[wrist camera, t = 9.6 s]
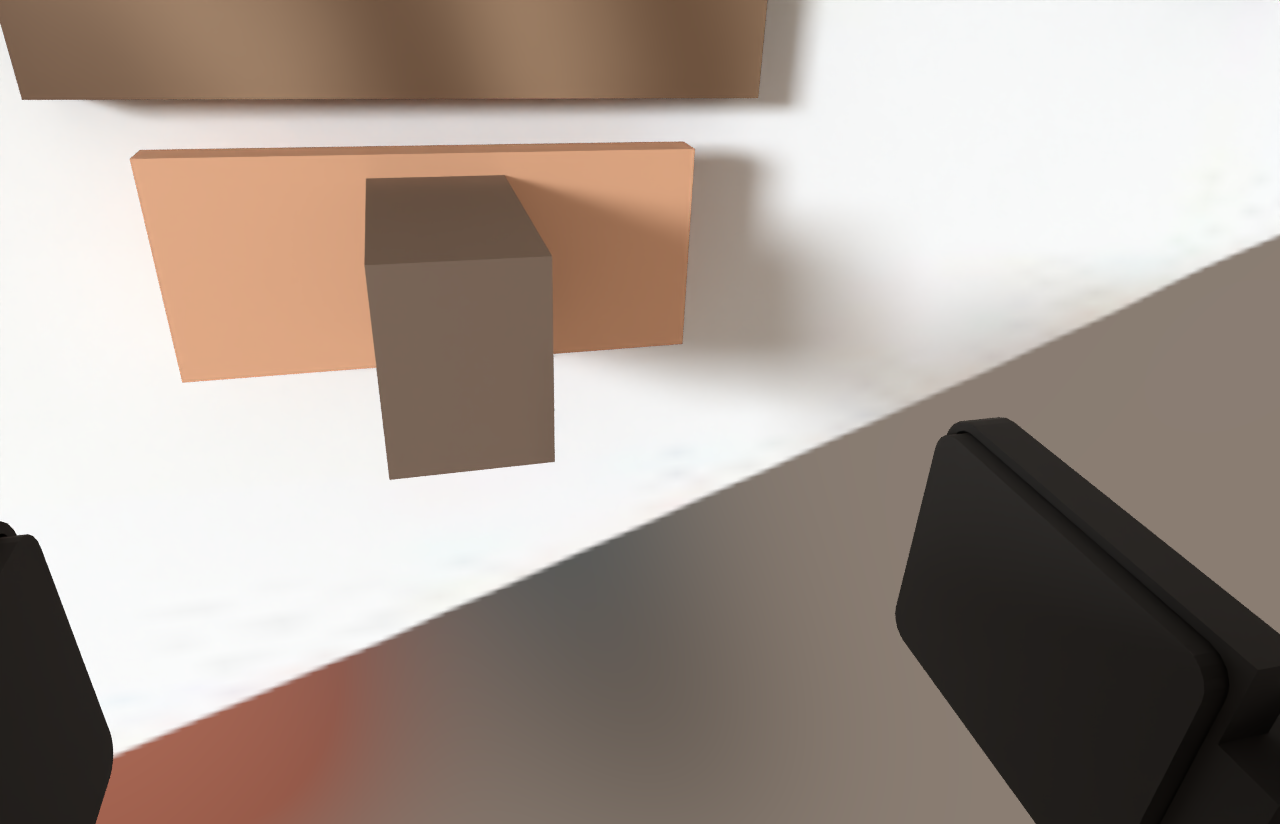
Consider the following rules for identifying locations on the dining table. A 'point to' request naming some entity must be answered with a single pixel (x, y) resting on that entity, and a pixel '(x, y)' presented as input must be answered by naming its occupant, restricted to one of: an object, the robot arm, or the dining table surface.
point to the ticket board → (384, 49)
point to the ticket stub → (422, 275)
